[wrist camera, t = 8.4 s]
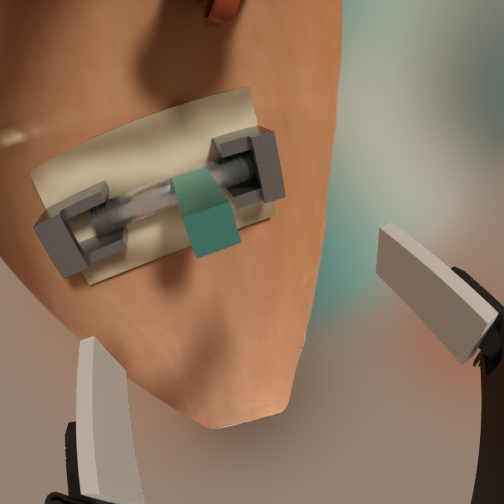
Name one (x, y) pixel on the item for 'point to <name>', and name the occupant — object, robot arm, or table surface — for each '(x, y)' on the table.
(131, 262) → the board
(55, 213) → the bracket
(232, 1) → the mug
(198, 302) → the table surface
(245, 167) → the teal and grey t-piece
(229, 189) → the socket
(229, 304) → the table surface
